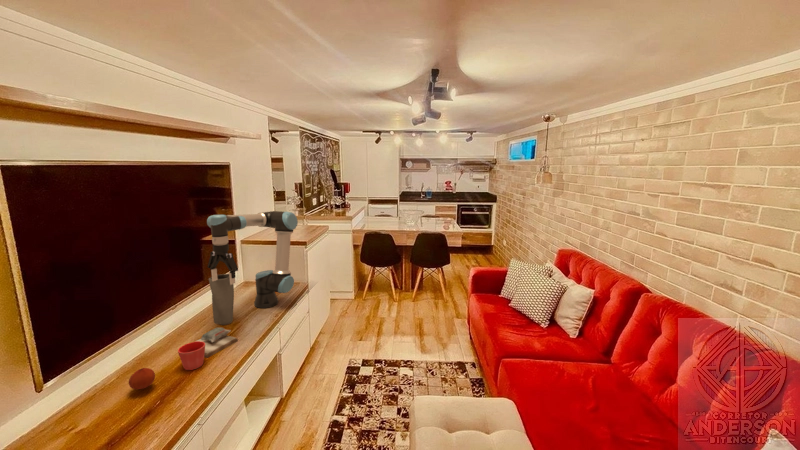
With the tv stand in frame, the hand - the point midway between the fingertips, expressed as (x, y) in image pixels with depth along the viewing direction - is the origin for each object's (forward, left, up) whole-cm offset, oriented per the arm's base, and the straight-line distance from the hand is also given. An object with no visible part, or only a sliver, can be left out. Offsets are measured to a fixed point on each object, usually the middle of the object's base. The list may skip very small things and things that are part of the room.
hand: (223, 282), depth 174 cm
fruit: (+44, +2, -33) cm, 55 cm away
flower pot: (+25, +7, -33) cm, 42 cm away
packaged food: (+9, 0, -32) cm, 33 cm away
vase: (-12, -18, -33) cm, 39 cm away
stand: (+9, -2, -33) cm, 34 cm away
